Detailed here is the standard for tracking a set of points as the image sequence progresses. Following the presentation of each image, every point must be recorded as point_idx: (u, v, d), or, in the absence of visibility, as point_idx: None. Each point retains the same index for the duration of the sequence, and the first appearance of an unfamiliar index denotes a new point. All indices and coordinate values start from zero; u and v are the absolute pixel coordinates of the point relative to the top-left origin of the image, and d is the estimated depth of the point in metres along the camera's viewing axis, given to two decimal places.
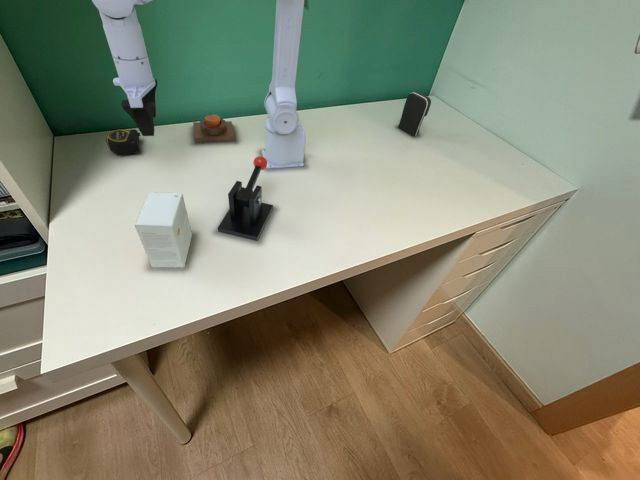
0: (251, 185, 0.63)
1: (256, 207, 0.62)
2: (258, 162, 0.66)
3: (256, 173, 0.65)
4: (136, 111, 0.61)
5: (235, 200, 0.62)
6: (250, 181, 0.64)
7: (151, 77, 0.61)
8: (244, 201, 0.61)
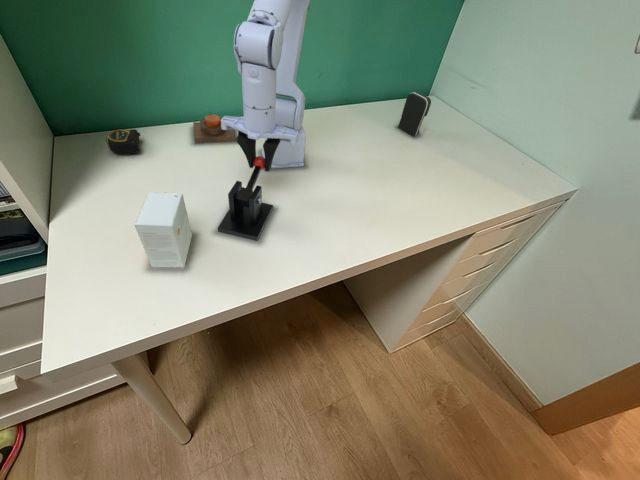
0: (251, 185, 0.63)
1: (256, 207, 0.62)
2: (258, 162, 0.66)
3: (256, 173, 0.65)
4: None
5: (235, 200, 0.62)
6: (250, 181, 0.64)
7: None
8: (244, 201, 0.61)
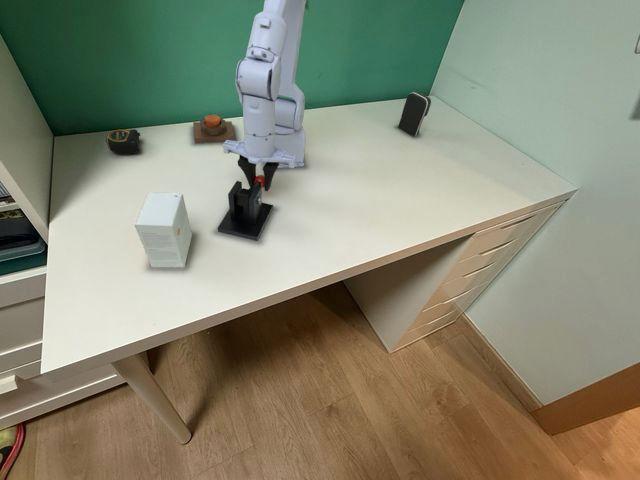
0: (252, 190, 0.65)
1: (256, 207, 0.62)
2: (259, 178, 0.69)
3: None
4: None
5: (235, 200, 0.62)
6: (251, 188, 0.65)
7: None
8: (244, 196, 0.61)
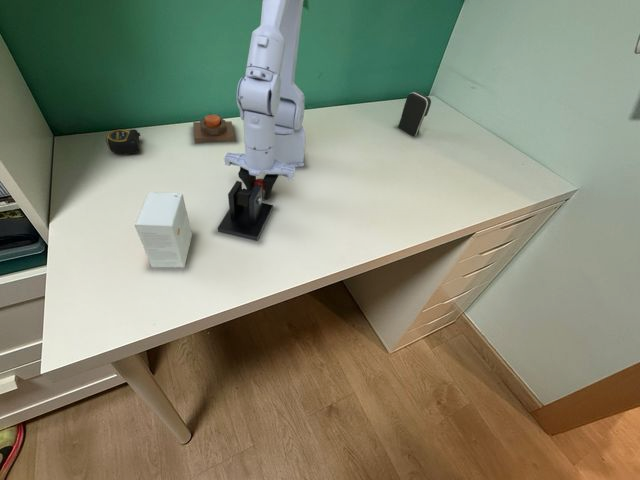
0: (252, 191, 0.65)
1: (256, 207, 0.62)
2: (259, 181, 0.69)
3: None
4: None
5: (235, 200, 0.62)
6: (251, 189, 0.66)
7: None
8: (244, 196, 0.61)
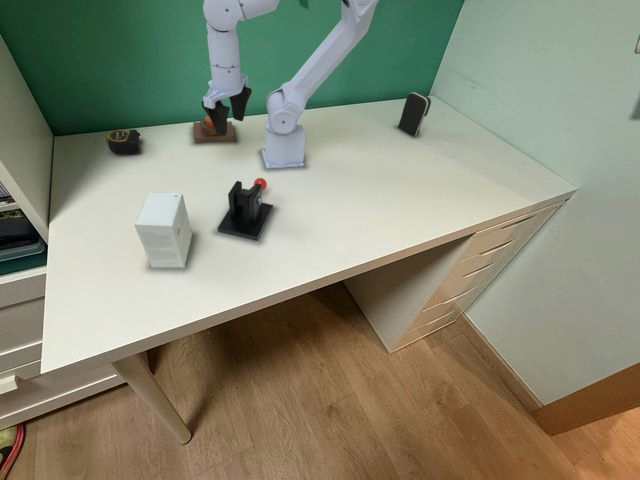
0: (252, 191, 0.65)
1: (256, 207, 0.62)
2: (259, 180, 0.69)
3: None
4: (214, 111, 0.68)
5: (235, 200, 0.62)
6: (251, 189, 0.66)
7: (236, 86, 0.66)
8: (244, 196, 0.61)
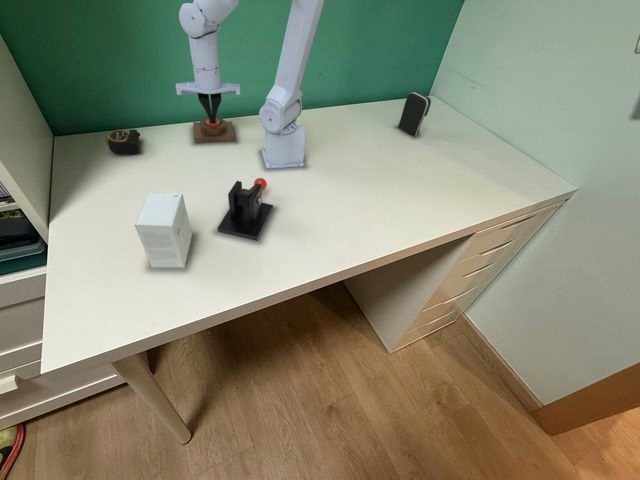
0: (252, 191, 0.65)
1: (256, 207, 0.62)
2: (259, 180, 0.69)
3: None
4: None
5: (235, 200, 0.62)
6: (251, 189, 0.66)
7: (205, 86, 0.75)
8: (244, 196, 0.61)
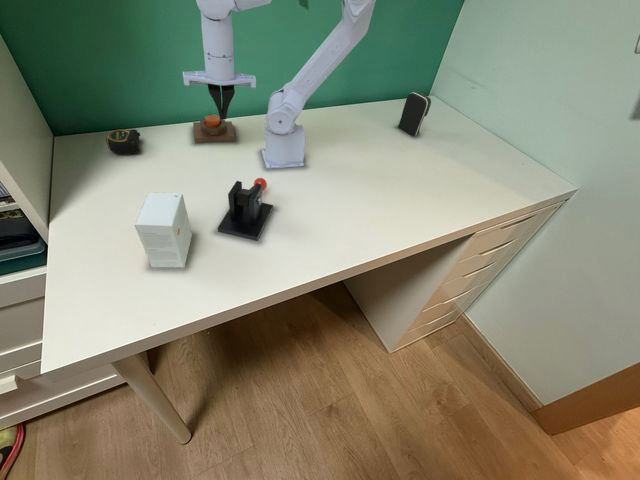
0: (252, 191, 0.65)
1: (256, 207, 0.62)
2: (259, 180, 0.69)
3: None
4: None
5: (235, 200, 0.62)
6: (251, 189, 0.66)
7: (217, 76, 0.65)
8: (244, 196, 0.61)
